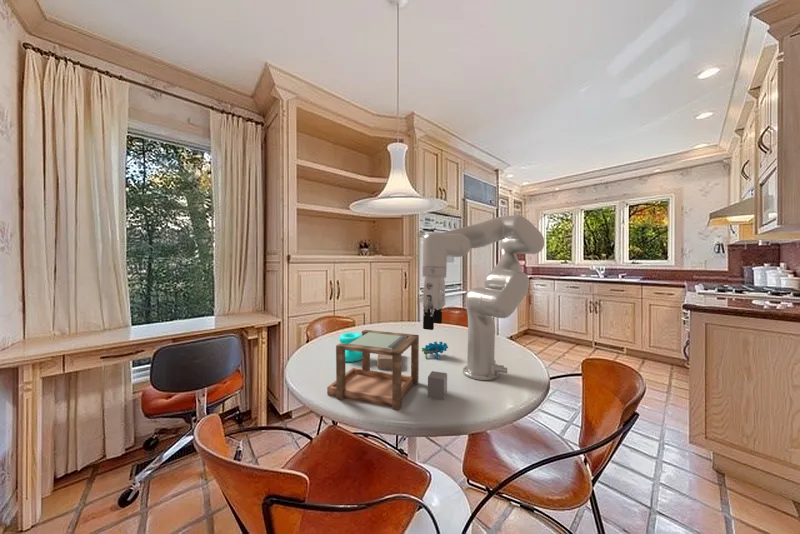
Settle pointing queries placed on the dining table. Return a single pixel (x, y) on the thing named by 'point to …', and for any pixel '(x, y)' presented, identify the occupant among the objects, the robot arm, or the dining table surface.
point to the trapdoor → (379, 340)
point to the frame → (376, 374)
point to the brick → (384, 361)
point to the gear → (434, 349)
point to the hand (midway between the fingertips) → (432, 326)
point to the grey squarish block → (437, 385)
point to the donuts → (349, 355)
